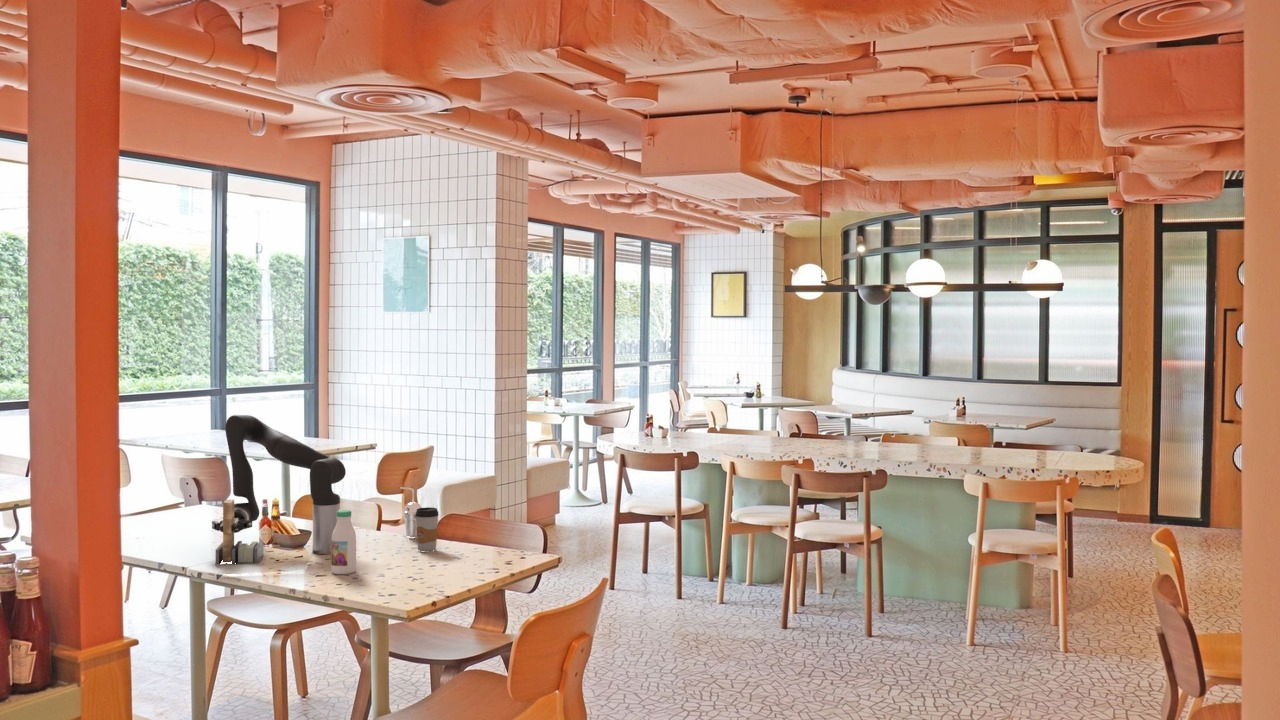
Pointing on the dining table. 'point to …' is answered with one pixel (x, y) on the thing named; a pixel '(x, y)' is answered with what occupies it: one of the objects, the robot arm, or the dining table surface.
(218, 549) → the sheet rack
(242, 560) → the pale green grooved block
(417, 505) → the cup with straw
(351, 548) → the milk bottle
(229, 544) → the oak block
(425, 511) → the coffee cup
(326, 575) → the dining table surface
